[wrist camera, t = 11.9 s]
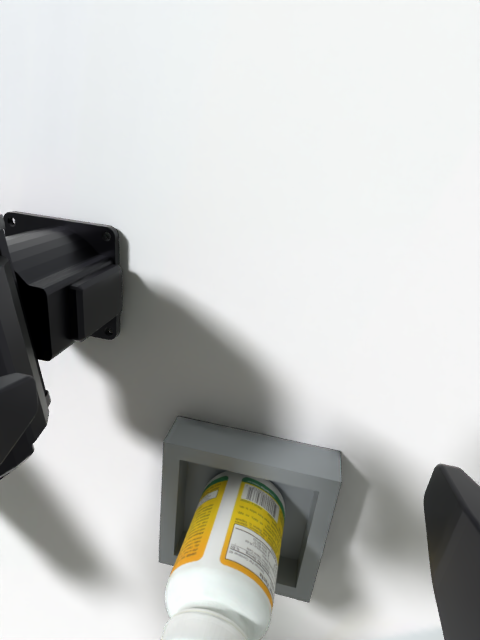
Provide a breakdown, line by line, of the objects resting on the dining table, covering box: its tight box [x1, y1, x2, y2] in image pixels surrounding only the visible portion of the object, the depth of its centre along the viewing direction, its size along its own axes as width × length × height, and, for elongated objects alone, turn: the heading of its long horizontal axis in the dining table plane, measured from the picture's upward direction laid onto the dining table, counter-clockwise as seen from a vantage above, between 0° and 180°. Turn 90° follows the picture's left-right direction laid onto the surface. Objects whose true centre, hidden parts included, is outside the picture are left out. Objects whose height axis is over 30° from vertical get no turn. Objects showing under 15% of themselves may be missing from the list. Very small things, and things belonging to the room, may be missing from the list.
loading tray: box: [159, 416, 342, 603], centre depth 25 cm, size 10×10×2 cm
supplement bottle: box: [161, 471, 285, 640], centre depth 22 cm, size 5×5×10 cm
